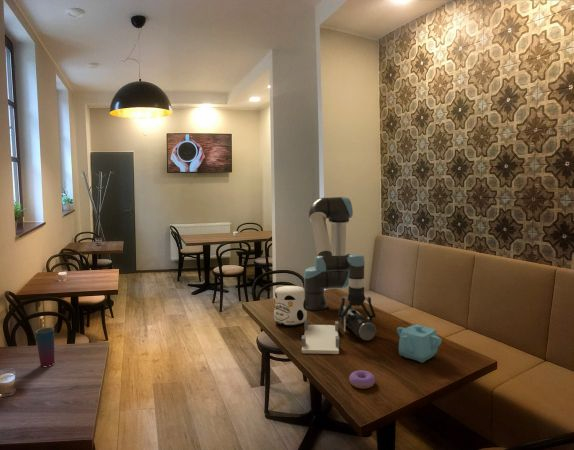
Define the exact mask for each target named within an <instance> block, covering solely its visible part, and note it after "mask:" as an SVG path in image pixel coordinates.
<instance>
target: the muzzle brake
mask: <svg viewBox="0 0 574 450" xmlns="http://www.w3.org/2000/svg"><path fill="white" fill-rule="evenodd" d="M347 306H348V304H344V307H343V310H342V312H341V314H342V313H343V312H344V310H345V309H346V307H347ZM345 318H346V327H347V328H349V329H350V330H351V331H352V332H353V333H354V335H355V336H356V337H358V338H359V339H360V340H362V341H371V340H372V339H374V337H375V335H376V332H377V329H376V325H375V323H374V322H373V320H372V321H370V320H369V319H368V318H367V317H366V316H365V315H363V314H362V313H361V312H360V311H358V310H357V309H356V308H354V306H353V305H352V306H351V308H350V309H349V311H348V312H347V314H346V315H345ZM338 319H340V320H341V317H338Z"/></svg>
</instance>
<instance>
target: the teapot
mask: <svg viewBox="0 0 574 450" xmlns="http://www.w3.org/2000/svg"><path fill="white" fill-rule="evenodd" d="M396 332H397V335H398V336H399V340H398V354H399V356H401V357H404V358H405V359H411V360H413V361H417V362H419V363H425V362H426V361H428V360H429V359H431V358H433V357H434V356H435V355H437V353H438V349H439V346H441V344H442V343H443V340H442V338H441V337H440V336H438V335H437V334H438V333H437V330H436V329H435V328H431V327H429V326H425V325H422V324H421V325H420V324H412V325H409V326H407V327H403V326H398V327H397V328H396Z"/></svg>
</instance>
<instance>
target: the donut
mask: <svg viewBox="0 0 574 450" xmlns="http://www.w3.org/2000/svg"><path fill="white" fill-rule="evenodd" d="M348 381H349V383H350V384H351V385H352V386H353V387H355V388H357V389H361V390H364V389H365V390H366V389H370V388H372V387H373V386H374V384H375V382H376V377H375V375H374V374H373V373H372V372H370V371H368V370H363V369H362V370H361V369H359V370H356V371H353V372H352V373H350V374H349V378H348Z"/></svg>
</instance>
